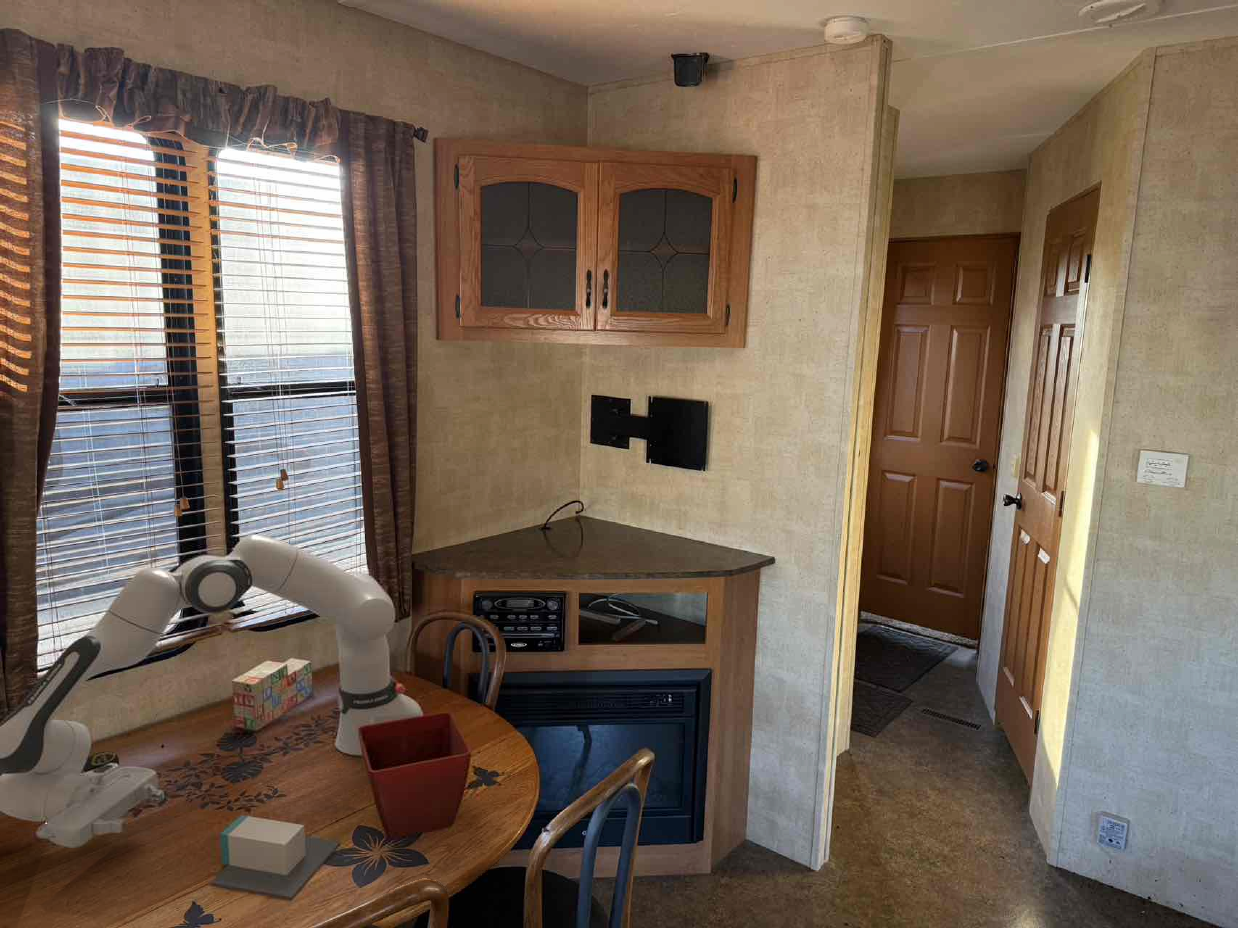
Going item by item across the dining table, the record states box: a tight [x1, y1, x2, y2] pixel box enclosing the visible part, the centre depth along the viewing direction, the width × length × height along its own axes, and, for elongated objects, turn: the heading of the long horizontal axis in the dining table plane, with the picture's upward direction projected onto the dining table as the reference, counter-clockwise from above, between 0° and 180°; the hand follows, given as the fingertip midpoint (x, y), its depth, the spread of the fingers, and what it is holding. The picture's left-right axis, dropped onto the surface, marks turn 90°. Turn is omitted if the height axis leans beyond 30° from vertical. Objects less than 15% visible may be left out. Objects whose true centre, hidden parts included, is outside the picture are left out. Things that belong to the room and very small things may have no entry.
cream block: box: [220, 814, 306, 875], centre depth 158 cm, size 6×6×13 cm
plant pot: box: [358, 711, 472, 840], centre depth 172 cm, size 19×19×17 cm
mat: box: [209, 835, 341, 901], centre depth 158 cm, size 16×16×1 cm
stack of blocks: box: [231, 657, 314, 732], centre depth 216 cm, size 21×6×12 cm, turn 162°
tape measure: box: [83, 751, 120, 773], centre depth 187 cm, size 7×7×4 cm
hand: (142, 811), depth 157 cm, fingers open, 8 cm apart
